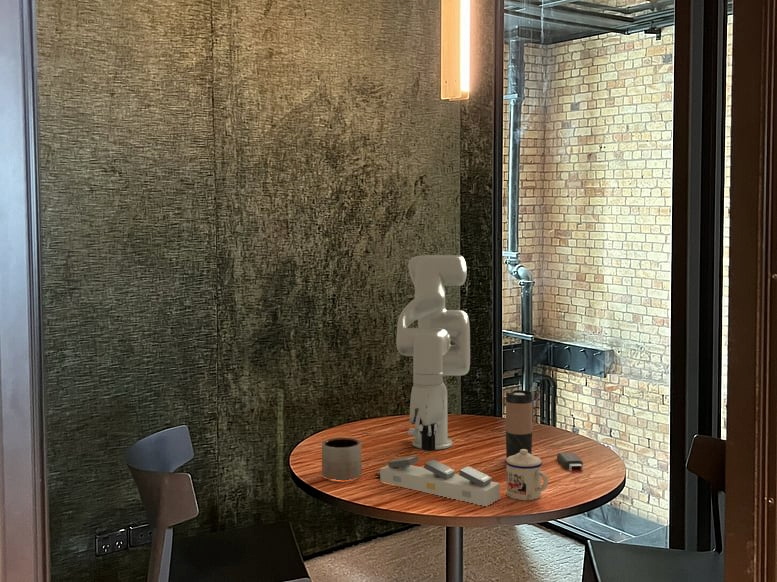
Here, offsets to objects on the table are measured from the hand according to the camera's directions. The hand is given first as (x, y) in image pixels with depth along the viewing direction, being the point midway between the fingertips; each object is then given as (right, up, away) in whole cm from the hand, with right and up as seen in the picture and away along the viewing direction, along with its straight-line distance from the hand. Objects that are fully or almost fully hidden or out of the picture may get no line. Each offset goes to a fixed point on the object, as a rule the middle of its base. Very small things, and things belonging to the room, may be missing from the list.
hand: (428, 449), depth 199 cm
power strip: (+1, -10, +1) cm, 10 cm away
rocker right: (+11, -6, -7) cm, 14 cm away
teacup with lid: (+25, -11, -6) cm, 28 cm away
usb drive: (+42, -9, +21) cm, 48 cm away
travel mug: (+28, -9, +26) cm, 39 cm away
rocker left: (-6, -5, +5) cm, 10 cm away
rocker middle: (+3, -5, -1) cm, 6 cm away
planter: (-23, -10, +12) cm, 28 cm away
